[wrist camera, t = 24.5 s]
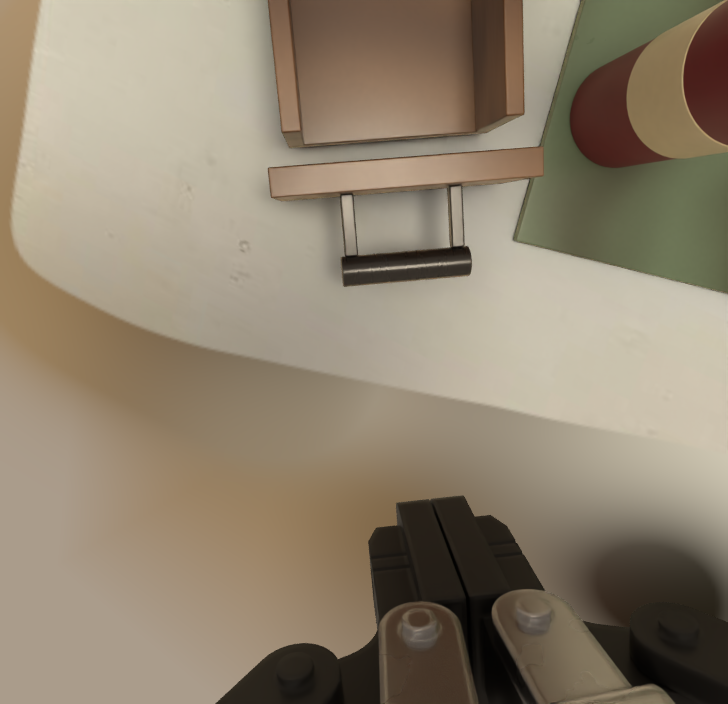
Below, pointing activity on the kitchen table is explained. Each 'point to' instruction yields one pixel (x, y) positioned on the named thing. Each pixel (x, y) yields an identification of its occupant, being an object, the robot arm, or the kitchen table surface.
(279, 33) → the drawer
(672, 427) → the kitchen table surface
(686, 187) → the board
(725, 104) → the tube
